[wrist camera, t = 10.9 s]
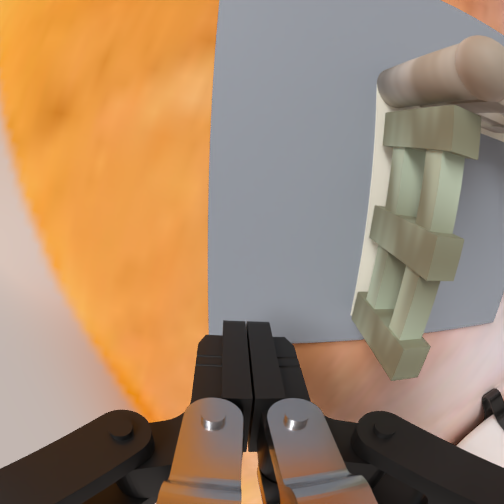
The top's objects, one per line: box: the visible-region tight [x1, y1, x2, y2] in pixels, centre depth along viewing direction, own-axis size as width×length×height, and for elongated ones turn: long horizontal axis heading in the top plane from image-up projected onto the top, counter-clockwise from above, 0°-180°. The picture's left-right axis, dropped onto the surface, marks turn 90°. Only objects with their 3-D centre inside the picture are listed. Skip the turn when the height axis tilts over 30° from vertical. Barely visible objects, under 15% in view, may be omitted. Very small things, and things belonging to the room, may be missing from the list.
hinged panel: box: [351, 105, 481, 381], centre depth 10 cm, size 9×1×4 cm, turn 175°
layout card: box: [208, 0, 504, 343], centre depth 12 cm, size 18×18×1 cm
